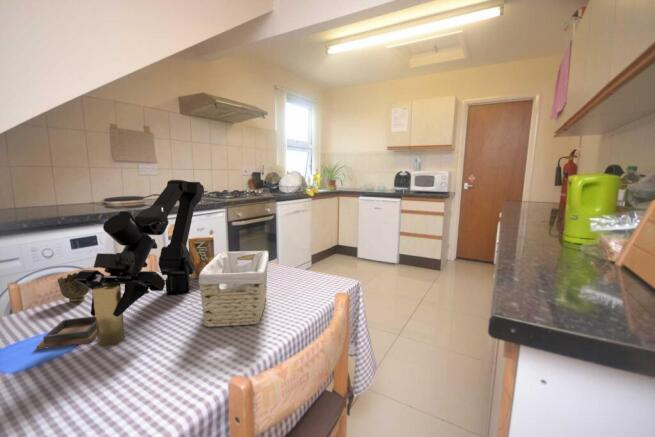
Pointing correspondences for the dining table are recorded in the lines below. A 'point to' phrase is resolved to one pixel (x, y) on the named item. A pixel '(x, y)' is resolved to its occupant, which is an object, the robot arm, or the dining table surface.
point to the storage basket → (234, 288)
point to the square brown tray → (71, 332)
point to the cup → (72, 288)
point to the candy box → (200, 253)
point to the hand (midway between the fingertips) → (104, 315)
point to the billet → (108, 314)
